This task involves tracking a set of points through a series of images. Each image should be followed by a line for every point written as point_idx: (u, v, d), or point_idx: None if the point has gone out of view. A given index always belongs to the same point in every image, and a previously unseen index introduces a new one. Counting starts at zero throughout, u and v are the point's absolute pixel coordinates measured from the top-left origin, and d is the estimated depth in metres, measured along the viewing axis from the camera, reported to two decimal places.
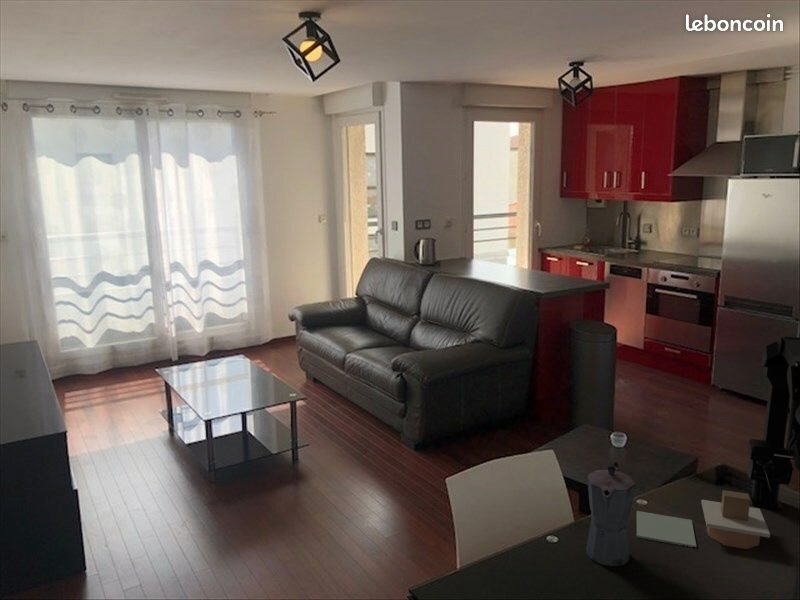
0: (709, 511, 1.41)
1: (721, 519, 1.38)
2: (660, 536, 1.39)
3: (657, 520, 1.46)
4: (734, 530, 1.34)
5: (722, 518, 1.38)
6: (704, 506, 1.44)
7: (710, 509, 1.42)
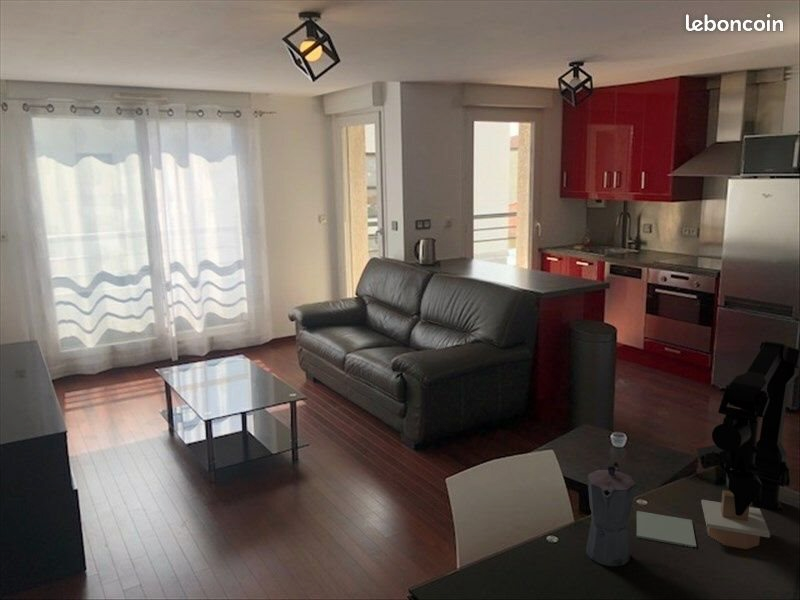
0: (709, 511, 1.41)
1: (721, 519, 1.38)
2: (660, 536, 1.39)
3: (657, 520, 1.46)
4: (734, 530, 1.34)
5: (722, 518, 1.38)
6: (704, 506, 1.44)
7: (710, 509, 1.42)
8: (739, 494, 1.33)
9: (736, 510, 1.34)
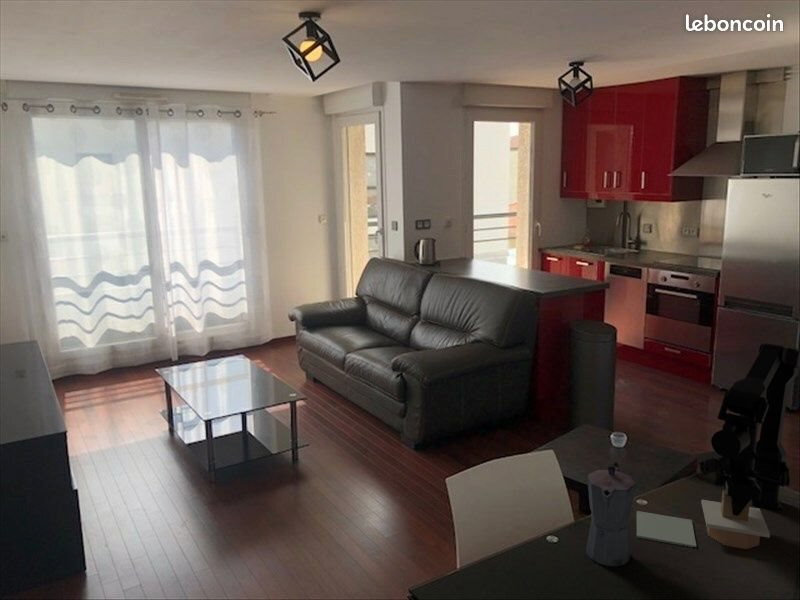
0: (709, 511, 1.41)
1: (721, 519, 1.38)
2: (660, 536, 1.39)
3: (657, 520, 1.46)
4: (734, 530, 1.34)
5: (722, 518, 1.38)
6: (704, 506, 1.44)
7: (710, 509, 1.42)
8: None
9: (733, 510, 1.37)
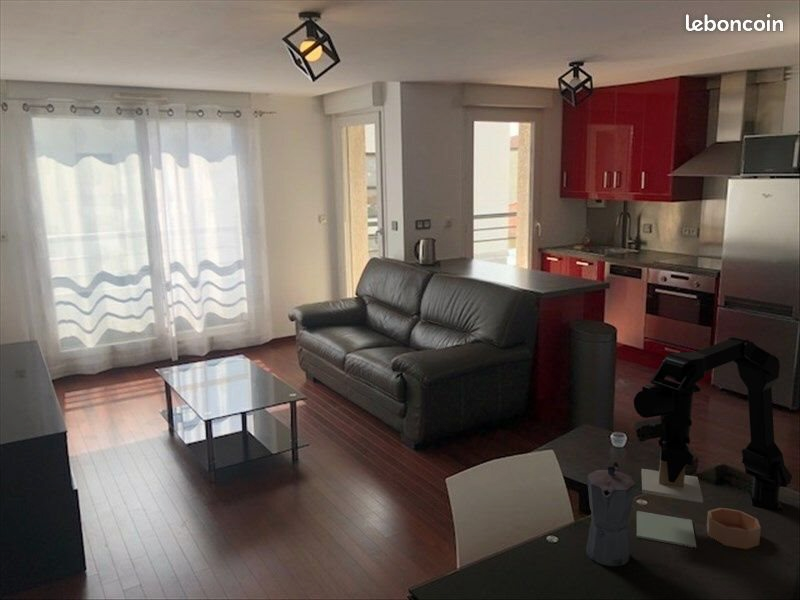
0: (647, 479, 1.43)
1: (657, 486, 1.39)
2: (660, 536, 1.39)
3: (657, 520, 1.46)
4: (668, 496, 1.35)
5: (658, 485, 1.40)
6: (643, 474, 1.45)
7: (648, 477, 1.43)
8: None
9: (669, 477, 1.39)
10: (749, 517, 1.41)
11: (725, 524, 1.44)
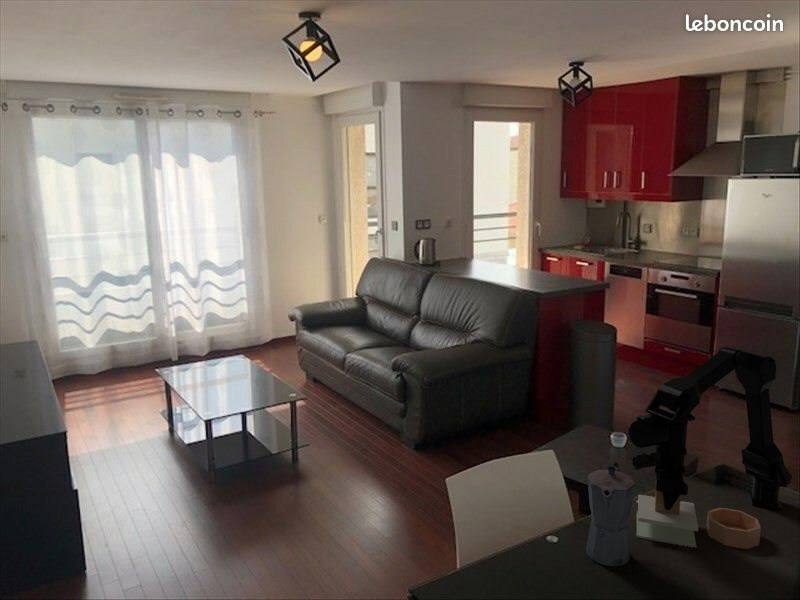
0: (643, 506, 1.44)
1: (653, 513, 1.40)
2: (660, 536, 1.39)
3: None
4: (664, 524, 1.37)
5: (654, 512, 1.41)
6: (639, 501, 1.46)
7: (645, 504, 1.45)
8: None
9: (665, 505, 1.40)
10: (749, 517, 1.41)
11: (725, 524, 1.44)
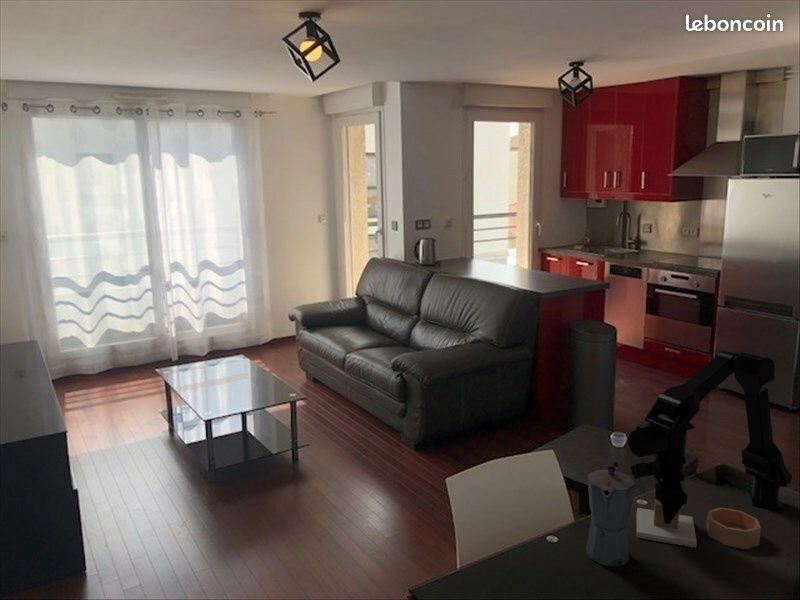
0: (642, 519, 1.44)
1: (652, 527, 1.41)
2: None
3: None
4: (663, 538, 1.37)
5: (653, 526, 1.41)
6: (638, 514, 1.47)
7: (643, 518, 1.45)
8: (667, 503, 1.37)
9: (664, 518, 1.38)
10: (749, 517, 1.41)
11: (725, 524, 1.44)
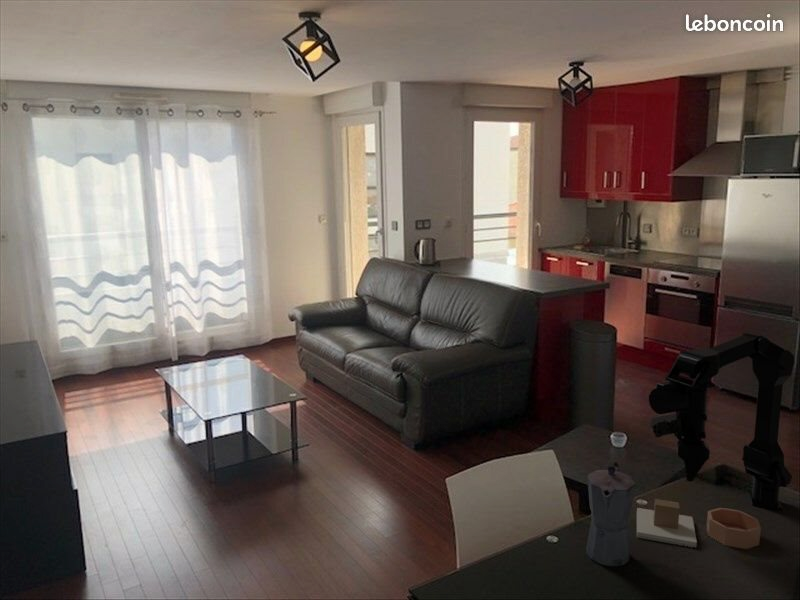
0: (642, 519, 1.44)
1: (652, 527, 1.41)
2: None
3: None
4: (663, 538, 1.37)
5: (653, 526, 1.41)
6: (638, 514, 1.47)
7: (643, 518, 1.45)
8: (689, 460, 1.38)
9: (687, 476, 1.39)
10: (749, 517, 1.41)
11: (725, 524, 1.44)
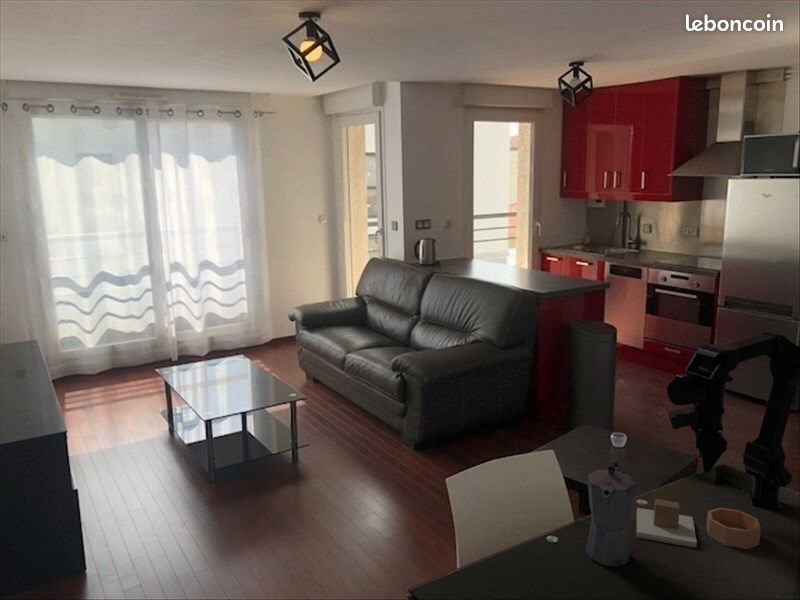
0: (642, 519, 1.44)
1: (652, 527, 1.41)
2: None
3: None
4: (663, 538, 1.37)
5: (653, 526, 1.41)
6: (638, 514, 1.47)
7: (643, 518, 1.45)
8: (706, 452, 1.41)
9: (704, 467, 1.42)
10: (749, 517, 1.41)
11: (725, 524, 1.44)
